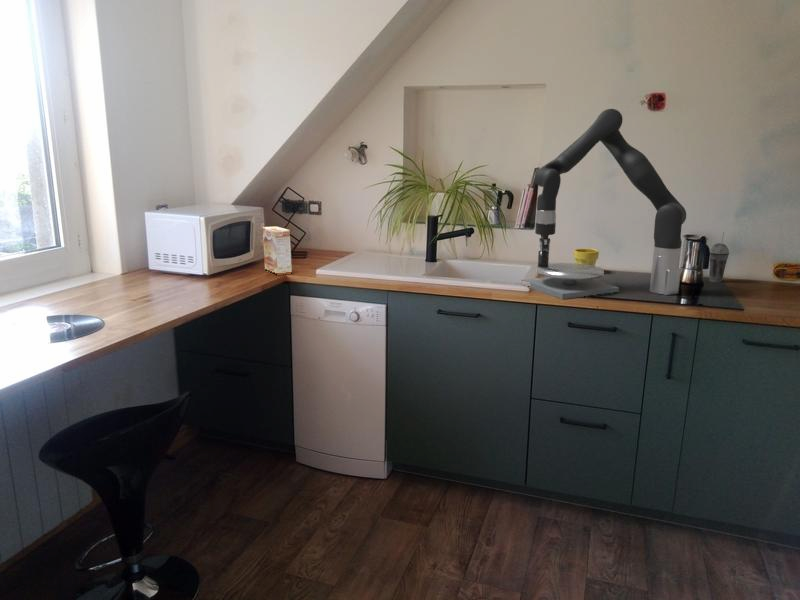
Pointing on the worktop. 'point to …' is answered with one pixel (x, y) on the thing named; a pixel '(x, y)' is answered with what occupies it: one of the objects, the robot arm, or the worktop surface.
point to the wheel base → (570, 287)
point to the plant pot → (586, 256)
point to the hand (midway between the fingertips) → (543, 263)
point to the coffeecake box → (277, 249)
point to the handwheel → (568, 270)
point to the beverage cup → (718, 261)
